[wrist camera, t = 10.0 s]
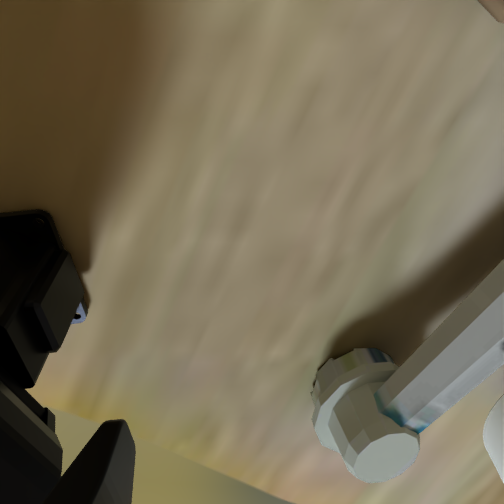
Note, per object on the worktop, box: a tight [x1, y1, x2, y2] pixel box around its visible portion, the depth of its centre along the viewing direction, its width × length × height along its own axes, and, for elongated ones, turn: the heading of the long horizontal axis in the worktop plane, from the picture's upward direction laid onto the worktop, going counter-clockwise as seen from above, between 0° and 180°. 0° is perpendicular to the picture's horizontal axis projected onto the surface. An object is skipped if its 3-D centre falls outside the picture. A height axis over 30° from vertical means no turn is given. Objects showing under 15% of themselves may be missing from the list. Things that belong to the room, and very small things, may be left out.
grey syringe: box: [311, 259, 504, 483], centre depth 22 cm, size 5×7×25 cm
